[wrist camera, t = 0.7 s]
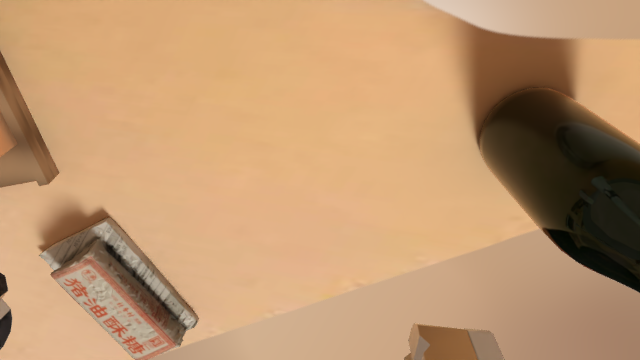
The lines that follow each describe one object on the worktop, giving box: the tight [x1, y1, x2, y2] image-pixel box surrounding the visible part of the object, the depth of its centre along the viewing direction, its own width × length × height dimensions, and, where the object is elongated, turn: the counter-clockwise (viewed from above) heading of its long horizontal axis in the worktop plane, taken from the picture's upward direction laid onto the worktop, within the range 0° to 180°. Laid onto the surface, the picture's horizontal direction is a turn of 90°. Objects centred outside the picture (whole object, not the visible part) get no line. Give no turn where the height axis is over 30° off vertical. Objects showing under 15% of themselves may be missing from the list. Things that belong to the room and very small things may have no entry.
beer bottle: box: [479, 87, 640, 293], centre depth 37 cm, size 10×10×33 cm
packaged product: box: [39, 217, 199, 360], centre depth 57 cm, size 18×5×10 cm
